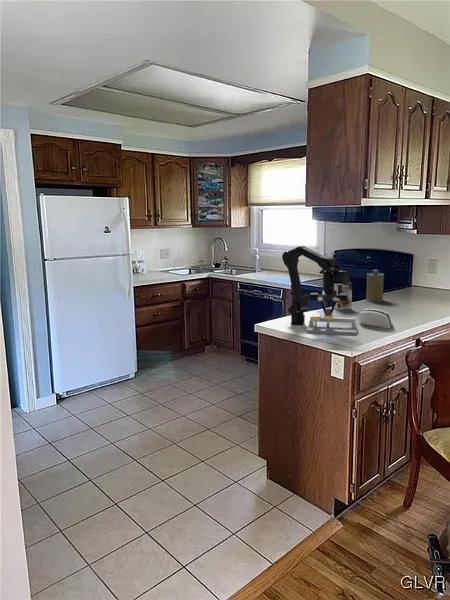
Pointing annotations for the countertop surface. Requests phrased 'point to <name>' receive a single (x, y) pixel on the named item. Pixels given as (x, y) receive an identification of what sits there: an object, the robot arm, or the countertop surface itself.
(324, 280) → the robot arm
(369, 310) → the white curved block
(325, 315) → the block
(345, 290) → the coffee box
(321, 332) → the plate
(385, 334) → the countertop surface
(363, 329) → the countertop surface
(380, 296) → the canister
